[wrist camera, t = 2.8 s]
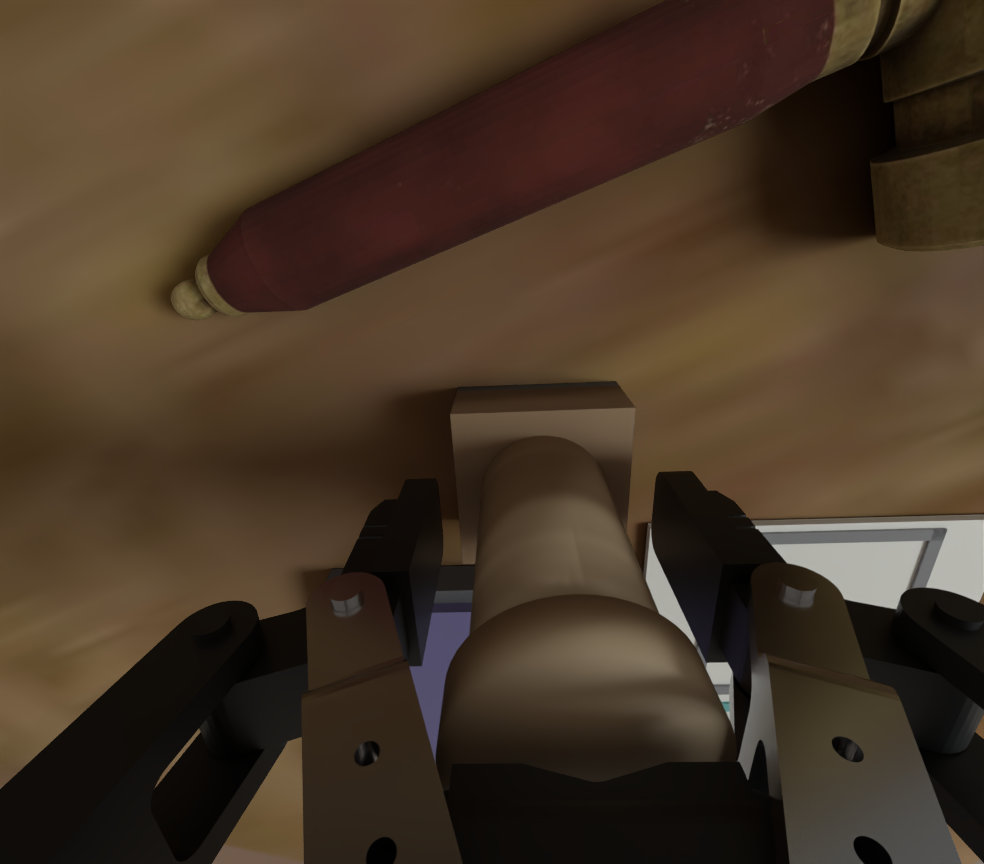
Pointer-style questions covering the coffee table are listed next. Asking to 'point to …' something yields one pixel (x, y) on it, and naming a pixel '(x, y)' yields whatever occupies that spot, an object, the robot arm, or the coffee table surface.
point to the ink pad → (441, 640)
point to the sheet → (856, 563)
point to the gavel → (621, 141)
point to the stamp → (563, 598)
